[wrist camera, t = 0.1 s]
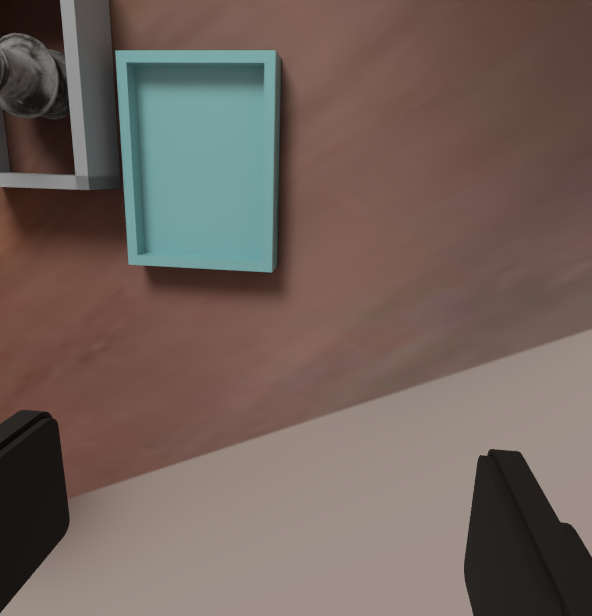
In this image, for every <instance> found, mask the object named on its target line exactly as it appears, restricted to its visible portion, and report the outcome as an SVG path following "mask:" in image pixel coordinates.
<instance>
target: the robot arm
mask: <svg viewBox="0 0 592 616" xmlns="http://www.w3.org/2000/svg"><path fill="white" fill-rule="evenodd" d="M69 521H70V520H69V510H68V501H67V493H66V485H65V477H64V468H63V460H62V452H61V444H60V436H59V428H58V423H57V421H56V420H55V419H52V416H51V415H50V413H48V412H43V411H31V410H21V411H19V412H17V413H16V414H14V415H13V416H11V417H10V418H8V419H7V420H5V421H4V422H2V423H1V424H0V613H1V611H2V610H3V609H4V608H5V607H6V605H7V604H8V603H9V602H10V601H11V599H12V598H13V597H14V596H15V594H16V593H17V592H18V591H19V590H20V589H21V587H22V586H23V585H24V584H25V582H26V581H27V580H28V579H29V578H30V577H31V575H32V574H33V573H34V572H35V571H36V569H37V568H38V567H39V566H40V565H41V563H42V562H43V561H44V559H45V558H46V557H47V556H48V555H49V554H50V552H51V551H52V550H53V549H54V548H55V546H56V545H57V544H58V542H59V541H60V540H61V539H62V538H63V537H64V535H65V534H66V531H67V529H68V526H69ZM464 574H465V582H466V587H467V591H468V595H469V599H470V603H471V607H472V611H473V615H474V616H592V557H591V555H590V554H589V552H588V550H587V549H586V547H585V545H584V544H583V542H582V540H581V539H580V537H579V535H578V534H577V532H576V530H575V529H574V528H573V527H572V525H570V524H568V523H561V522H560V521H559V519H558V517H557V516H556V514H555V512H554V510H553V509H552V507H551V505H550V503H549V502H548V500H547V498H546V496H545V494H544V493H543V491H542V489H541V487H540V486H539V484H538V482H537V480H536V479H535V477H534V475H533V473H532V472H531V470H530V468H529V466H528V465H527V463H526V461H525V459H524V458H523V456H522V454H521V453H520V452H518V451H506V450H495V449H490V450H489V452H488V455H487V456H481V455H480V456H479V458H478V463H477V470H476V478H475V486H474V493H473V501H472V508H471V516H470V523H469V531H468V539H467V546H466V554H465V562H464Z"/></svg>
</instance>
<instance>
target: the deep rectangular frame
mask: <svg viewBox="0 0 592 616" xmlns="http://www.w3.org/2000/svg"><path fill="white" fill-rule="evenodd" d="M60 4H61V16H62V27H63V39H64V50H65V61H66V73H67V84H68V96H69V107H70V118H71V130H72V141H73V153H74V164H75V175H73V174H42V173H11V172H10V164H9V156H8V148H7V140H6V131H5V123H4V115H3V109H2V108H1V107H0V187H19V188H46V189H74V190H99V189H117V188H121V180H120V165H119V149H118V134H117V118H116V102H115V87H114V71H113V56H112V40H111V24H110V9H109V0H60Z"/></svg>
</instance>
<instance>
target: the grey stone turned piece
mask: <svg viewBox="0 0 592 616" xmlns="http://www.w3.org/2000/svg"><path fill="white" fill-rule="evenodd" d="M0 107H1V108H2V109H3V110H5V111H6V112H8V113H9V114H11V115H13V116H16V117H19V118H25V119H32V118H36V117H39V116H41V117H44V118H47V119H61V118H65V117H66V116H68V115H69V114H70V107H69V96H68V84H67V73H66V61H65V55H63V54H62V53H60V52H58V51H55V50H52V49H47V48H46V47H45V46H44V45H43V43H41V42H40V41H38V40H37V39H35V38H34V37H32V36H29V35H26V34H23V33H12V34H8V35H5V36H3V37H2V38H0Z"/></svg>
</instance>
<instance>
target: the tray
mask: <svg viewBox="0 0 592 616" xmlns="http://www.w3.org/2000/svg"><path fill="white" fill-rule="evenodd" d="M115 54H116V70H117V86H118V102H119V118H120V134H121V150H122V166H123V182H124V198H125V214H126V230H127V245H128V261H129V265H146V266H164V267H182V268H200V269H219V270H237V271H255V272H273V271H274V270H275V269H276V268H277V256H278V204H279V152H280V100H281V57H280V56H279V55H278V53H277V52H276V50H115Z"/></svg>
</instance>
